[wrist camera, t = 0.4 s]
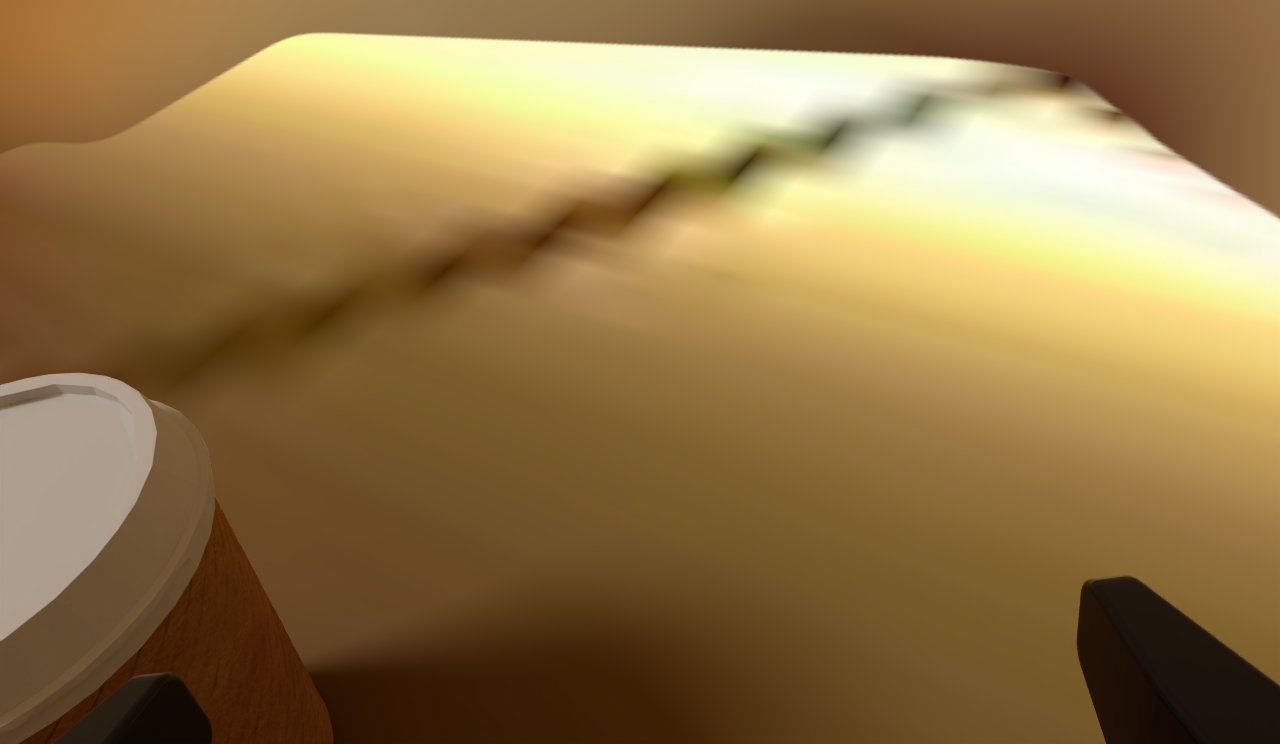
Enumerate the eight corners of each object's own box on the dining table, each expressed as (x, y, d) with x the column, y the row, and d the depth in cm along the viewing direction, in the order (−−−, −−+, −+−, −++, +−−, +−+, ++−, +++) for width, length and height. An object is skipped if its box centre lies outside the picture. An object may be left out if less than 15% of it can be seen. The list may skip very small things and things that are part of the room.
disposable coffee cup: (65, 1054, 22) (-411, 875, 14) (55, 731, 28) (-268, 484, 20) (432, 828, 24) (210, 563, 16) (343, 579, 31) (156, 305, 23)
